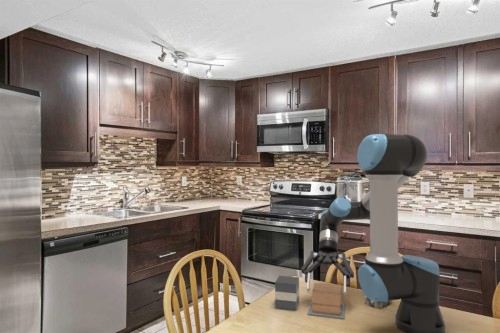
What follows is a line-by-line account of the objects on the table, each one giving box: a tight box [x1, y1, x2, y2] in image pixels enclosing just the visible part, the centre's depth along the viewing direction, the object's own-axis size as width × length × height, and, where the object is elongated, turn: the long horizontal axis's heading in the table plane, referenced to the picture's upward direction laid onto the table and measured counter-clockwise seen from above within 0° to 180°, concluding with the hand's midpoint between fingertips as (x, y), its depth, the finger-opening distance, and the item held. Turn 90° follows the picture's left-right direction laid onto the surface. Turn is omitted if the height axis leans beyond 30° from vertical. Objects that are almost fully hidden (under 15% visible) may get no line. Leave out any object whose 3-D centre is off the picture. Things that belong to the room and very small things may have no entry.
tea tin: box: [274, 275, 300, 312], centre depth 136 cm, size 8×8×10 cm
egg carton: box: [363, 294, 392, 309], centre depth 138 cm, size 11×8×4 cm
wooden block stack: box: [311, 282, 342, 316], centre depth 132 cm, size 10×10×8 cm
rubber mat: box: [307, 299, 346, 320], centre depth 132 cm, size 13×13×1 cm
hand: (326, 292), depth 132 cm, fingers open, 13 cm apart
